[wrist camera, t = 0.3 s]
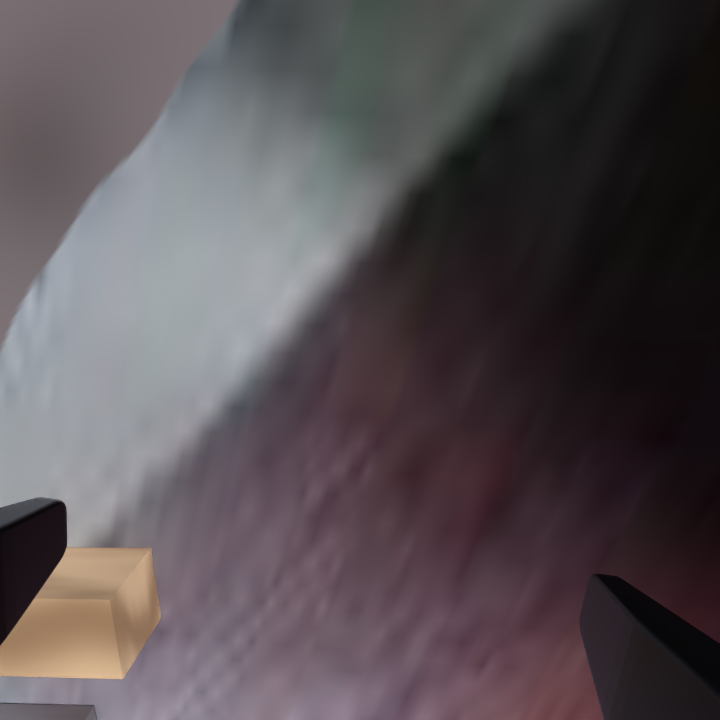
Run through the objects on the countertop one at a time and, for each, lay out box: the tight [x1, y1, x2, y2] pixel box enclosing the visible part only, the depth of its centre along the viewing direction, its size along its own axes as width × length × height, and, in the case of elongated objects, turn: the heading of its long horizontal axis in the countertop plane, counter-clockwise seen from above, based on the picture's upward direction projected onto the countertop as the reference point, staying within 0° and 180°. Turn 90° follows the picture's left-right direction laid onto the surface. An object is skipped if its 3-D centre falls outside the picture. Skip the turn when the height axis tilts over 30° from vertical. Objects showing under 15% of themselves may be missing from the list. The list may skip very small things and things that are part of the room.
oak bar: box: [0, 548, 161, 679], centre depth 24 cm, size 4×12×4 cm, turn 92°
